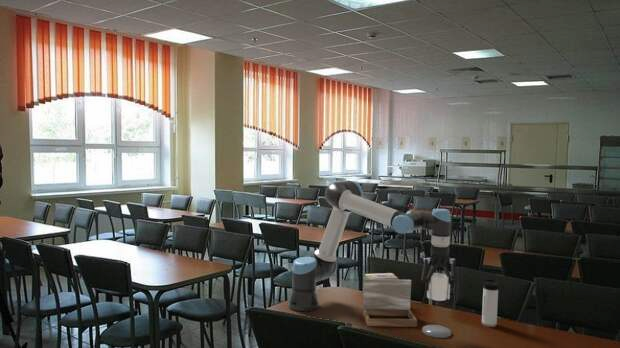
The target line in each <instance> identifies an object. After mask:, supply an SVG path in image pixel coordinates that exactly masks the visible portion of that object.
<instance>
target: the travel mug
mask: <svg viewBox="0 0 620 348" xmlns="http://www.w3.org/2000/svg"><path fill="white" fill-rule="evenodd" d="M482 289H483V290H482V292H483V293H482V306H481V307H482V310H481V324H482V325H483V326H484V327H489V328H495V327H497V323H498V306H499V305H498V301H499V282H498V281H496V280H494V279H491V278H489V279H485V280H483V288H482Z"/></svg>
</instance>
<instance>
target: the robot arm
mask: <svg viewBox="0 0 620 348" xmlns="http://www.w3.org/2000/svg"><path fill="white" fill-rule="evenodd" d="M324 198H325V200H326V202H327V203H328V204H329V205H330V206H331V207H332V210H331V213H330V216H329V218H328V222H327V225H326V228H325V230H324V233H323V235H322V238H321V242H320V244H319V248H318V249H315V251H314V252H313V255H312V256H300V257H297V258H296V259H294V261H293V262H292V268H291V269H292V270H291V271H292V273H291V276H292V277H291V281H292V282H291V283H292V285H291V292H290V296H289V298H288V304H287V306H288V308H289V309H290V310H293V311H297V312H312V311H316V310H317V309H319V306H320V301H319V298H318V295H317V282H321V281H323V280H327V279H329V278H331V277H333V276H334V275H335V274H336V272H337V270H338V262H337V256H336V253H337V250H338V247H339V243H340V241H341V239H342V235H343V232H344V230H345V229H346V225H347V222H348V219H349V217H350V214H352V213H355V214H357V215H360V216H363V217H364V218H367V219H370V220H373V221H375V222H378V223H380V224H383V225H385V226H387V227H390V228H392V229H393V230H394V231H395V232H396V233H398V234H400V235H401V234H408V233H410V232H414V231H417V230H425V231H426V230H428V231H431V239H430V240H431V243H430V244H431V245H430V256H429V257H427V258H426V257H423V265H422V271H421V276H420V280H421V281H422V282H423V283H424V290H425V291H426V297H427V299H428V300H431V298H430V296H431V283H430V280H431V276H432V275H433V273H435V271H436V269H437V268H442V269H443V272H444V274H445V275H446V276H447V277H449V278H448V288H447V296H446V300H450V297H451V296H450V295H451V294H450V293H451V292H452V290H453V285H454V283H457V282H458V278H457V277H458V276H457V270H456V269H457V267H456V265H457V260H456V258H454V257H453V258H450V245H451V243H450V240H451V238H450V237H451V222H452V220H451V211H450V210H449V209H448V208H447V209H446V208H433V209H432V212H426V211H418V210H408V211H406V213H405V212H402V211H400V210H397V209H394V208H392V207H389V206H386V205H383V204H381V203H377V201H372V200H370V199H368V198H365V197H364V190H363V188H362V186H361V184H360V183H358V182H357V181H354V180H345V181H335V182H332V183H330V184H328V186H326V189H325V192H324ZM430 262H431V265H430V269H429V270H428V268H429V264H430ZM448 264H450V269H451V274H450V270H449V268H448ZM427 272H428V273H427Z"/></svg>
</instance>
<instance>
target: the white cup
mask: <svg viewBox="0 0 620 348" xmlns="http://www.w3.org/2000/svg"><path fill="white" fill-rule="evenodd" d="M448 278H449V277H447V276H446V274H445V273H440V272H434V273H433V275H432V276H431V280H430V283H431V296H430V300H433V301H437V302H442V301H446V300H447V298H446V296H447V288H448V283H449V282H448Z"/></svg>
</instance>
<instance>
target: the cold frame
mask: <svg viewBox="0 0 620 348" xmlns="http://www.w3.org/2000/svg"><path fill="white" fill-rule="evenodd" d="M411 293H412V280H411V279H398V280H386V279H365V278H364V280H363V303H362V305H363V307H362V309H363V310H362V315H363V319H364V321H365V324H366V326H367V327H405V328H406V327H407V328H408V327H409V328H410V327H411V328H412V327H413V328H414V327H415V328H416V327H418V319H417V318H416V316H415V315H414V313H413V312H412V311H411V297H412V296H411ZM370 316H380V317H381V316H385V317H387V316H391V317H392V316H394V317H395V316H396V317H397V316H398V317H408V318H370Z"/></svg>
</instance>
